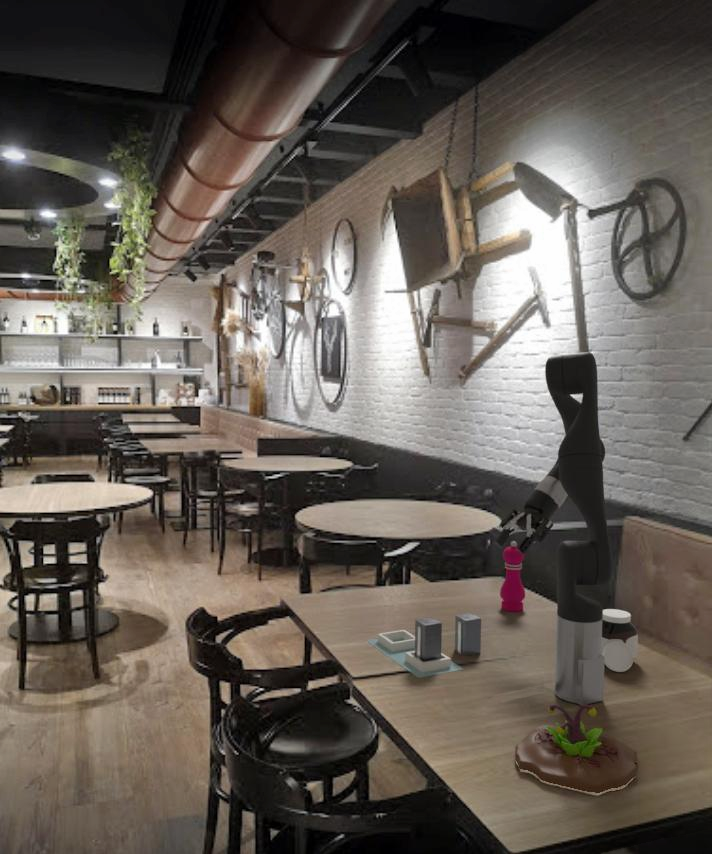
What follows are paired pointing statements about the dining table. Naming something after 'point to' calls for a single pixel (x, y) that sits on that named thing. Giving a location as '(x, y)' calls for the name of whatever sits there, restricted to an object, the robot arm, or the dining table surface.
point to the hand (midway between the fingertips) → (508, 547)
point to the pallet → (411, 654)
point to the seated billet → (428, 639)
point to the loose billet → (467, 634)
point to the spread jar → (618, 640)
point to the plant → (576, 755)
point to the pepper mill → (512, 580)
